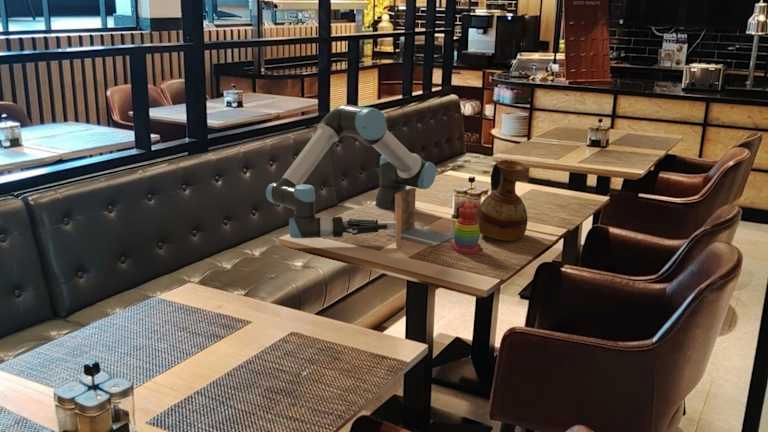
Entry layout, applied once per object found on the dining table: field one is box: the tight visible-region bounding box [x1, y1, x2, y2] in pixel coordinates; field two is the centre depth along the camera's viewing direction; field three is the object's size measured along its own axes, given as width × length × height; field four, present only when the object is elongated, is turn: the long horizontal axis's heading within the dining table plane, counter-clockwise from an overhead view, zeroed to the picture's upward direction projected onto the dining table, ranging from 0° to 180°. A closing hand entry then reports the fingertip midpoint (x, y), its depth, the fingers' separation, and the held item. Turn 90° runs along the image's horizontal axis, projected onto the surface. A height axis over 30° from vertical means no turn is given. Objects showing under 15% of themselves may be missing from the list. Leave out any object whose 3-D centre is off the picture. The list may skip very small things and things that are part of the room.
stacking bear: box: [450, 202, 482, 255], centre depth 268 cm, size 11×10×18 cm
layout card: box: [385, 226, 454, 248], centre depth 285 cm, size 15×22×1 cm
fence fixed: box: [393, 187, 417, 234], centre depth 288 cm, size 12×2×16 cm, turn 143°
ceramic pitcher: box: [475, 159, 528, 241], centre depth 282 cm, size 20×20×30 cm
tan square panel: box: [394, 194, 402, 248], centre depth 275 cm, size 16×2×16 cm, turn 1°
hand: (395, 225), depth 274 cm, fingers closed
